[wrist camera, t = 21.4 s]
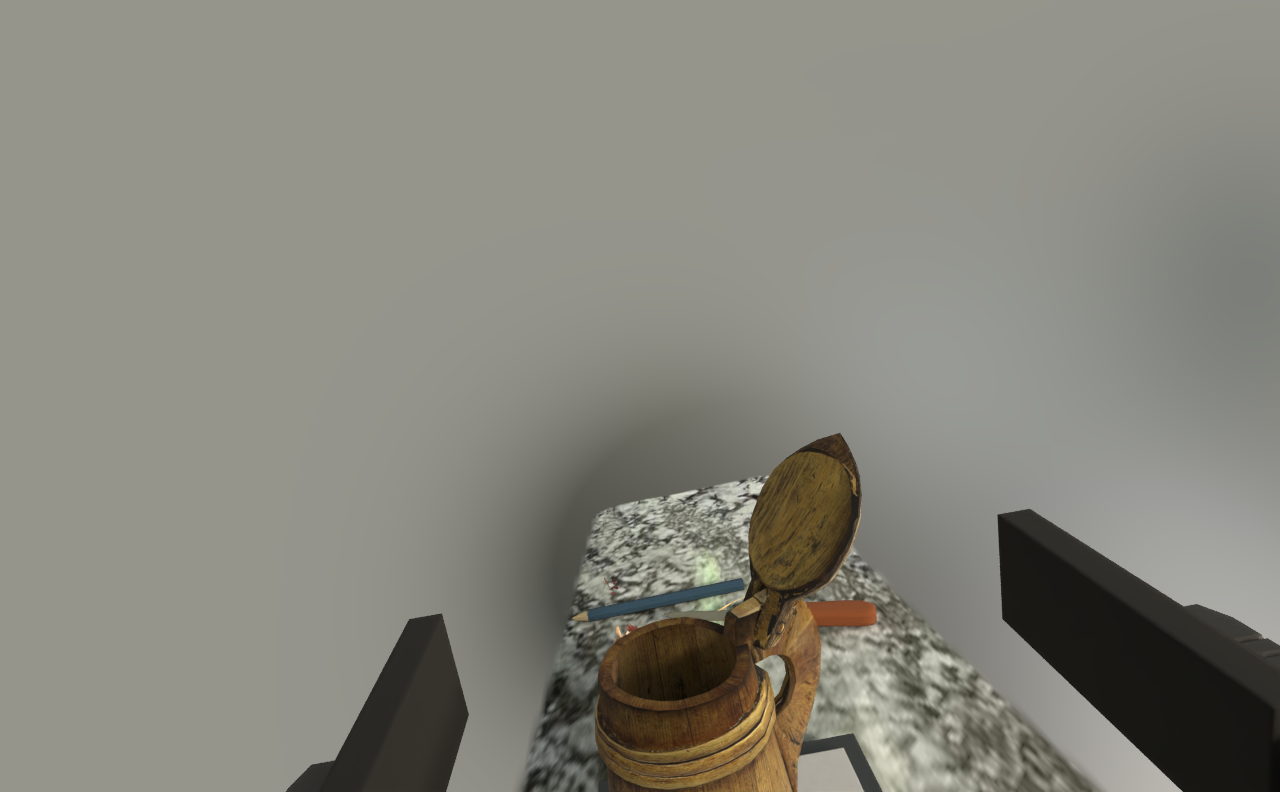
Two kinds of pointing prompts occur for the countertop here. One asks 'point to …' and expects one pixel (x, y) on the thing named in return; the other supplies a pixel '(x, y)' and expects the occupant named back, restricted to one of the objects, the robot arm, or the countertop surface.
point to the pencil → (661, 600)
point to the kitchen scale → (828, 767)
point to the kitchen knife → (821, 611)
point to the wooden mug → (736, 651)
